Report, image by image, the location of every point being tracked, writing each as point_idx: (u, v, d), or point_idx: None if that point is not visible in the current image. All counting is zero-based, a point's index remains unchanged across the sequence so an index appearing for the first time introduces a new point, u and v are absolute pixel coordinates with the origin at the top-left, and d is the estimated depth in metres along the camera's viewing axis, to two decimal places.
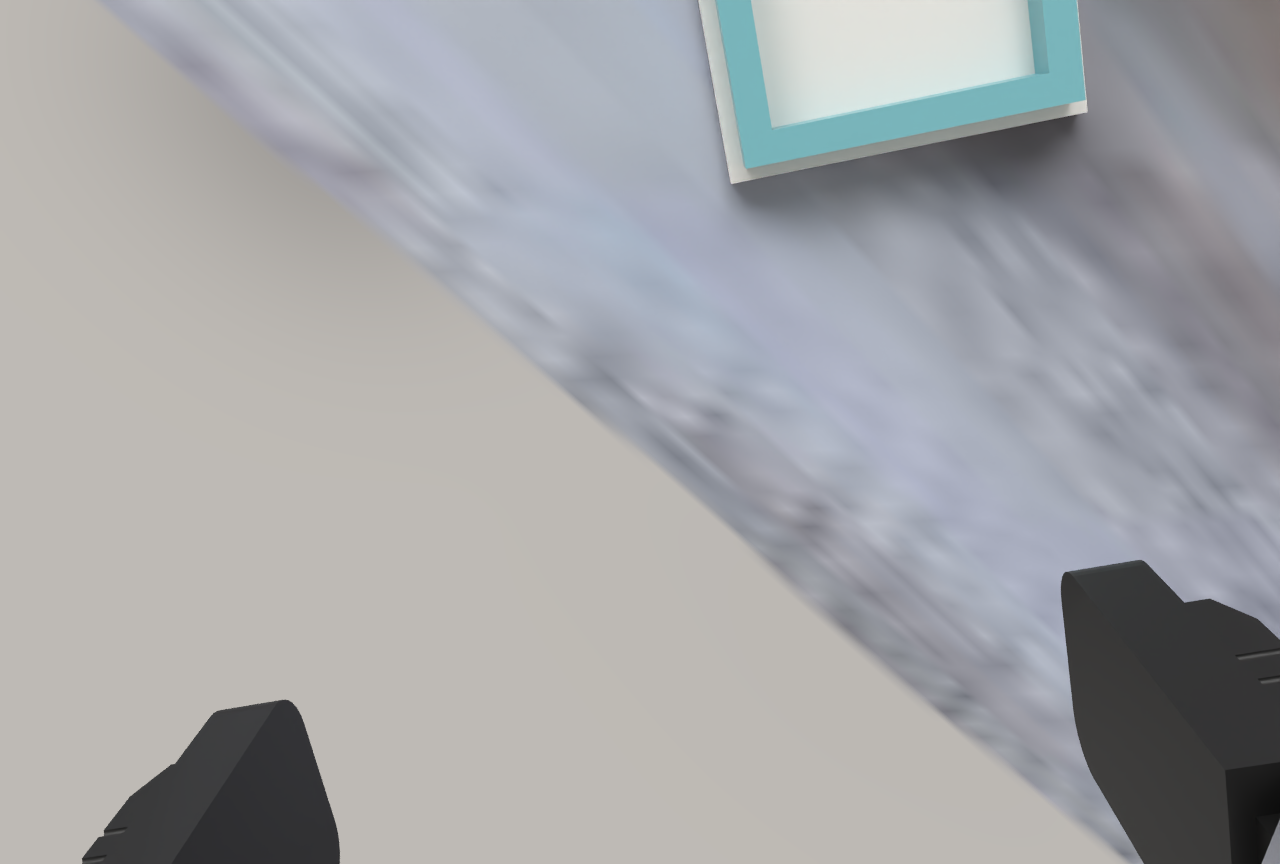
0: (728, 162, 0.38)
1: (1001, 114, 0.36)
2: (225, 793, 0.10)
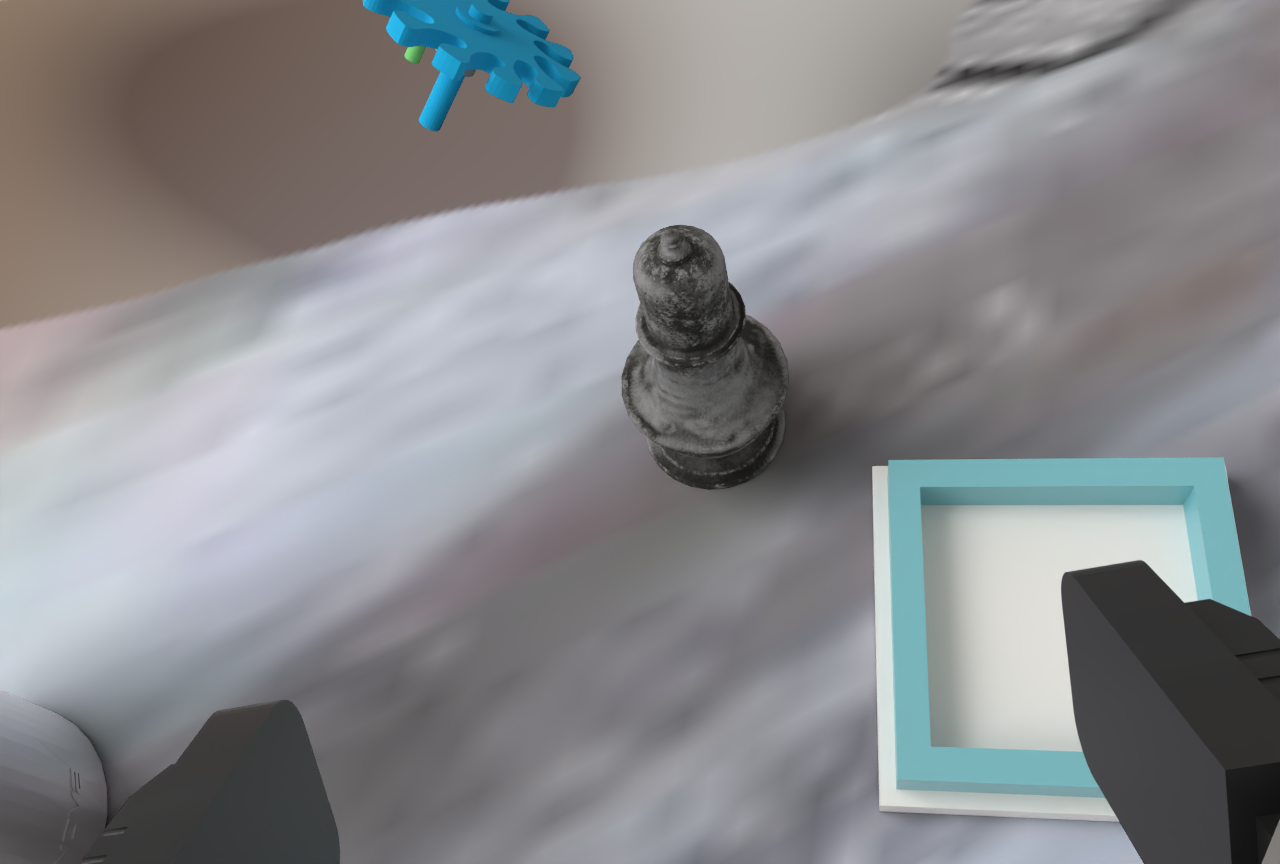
0: None
1: (1233, 530, 0.36)
2: (225, 793, 0.10)
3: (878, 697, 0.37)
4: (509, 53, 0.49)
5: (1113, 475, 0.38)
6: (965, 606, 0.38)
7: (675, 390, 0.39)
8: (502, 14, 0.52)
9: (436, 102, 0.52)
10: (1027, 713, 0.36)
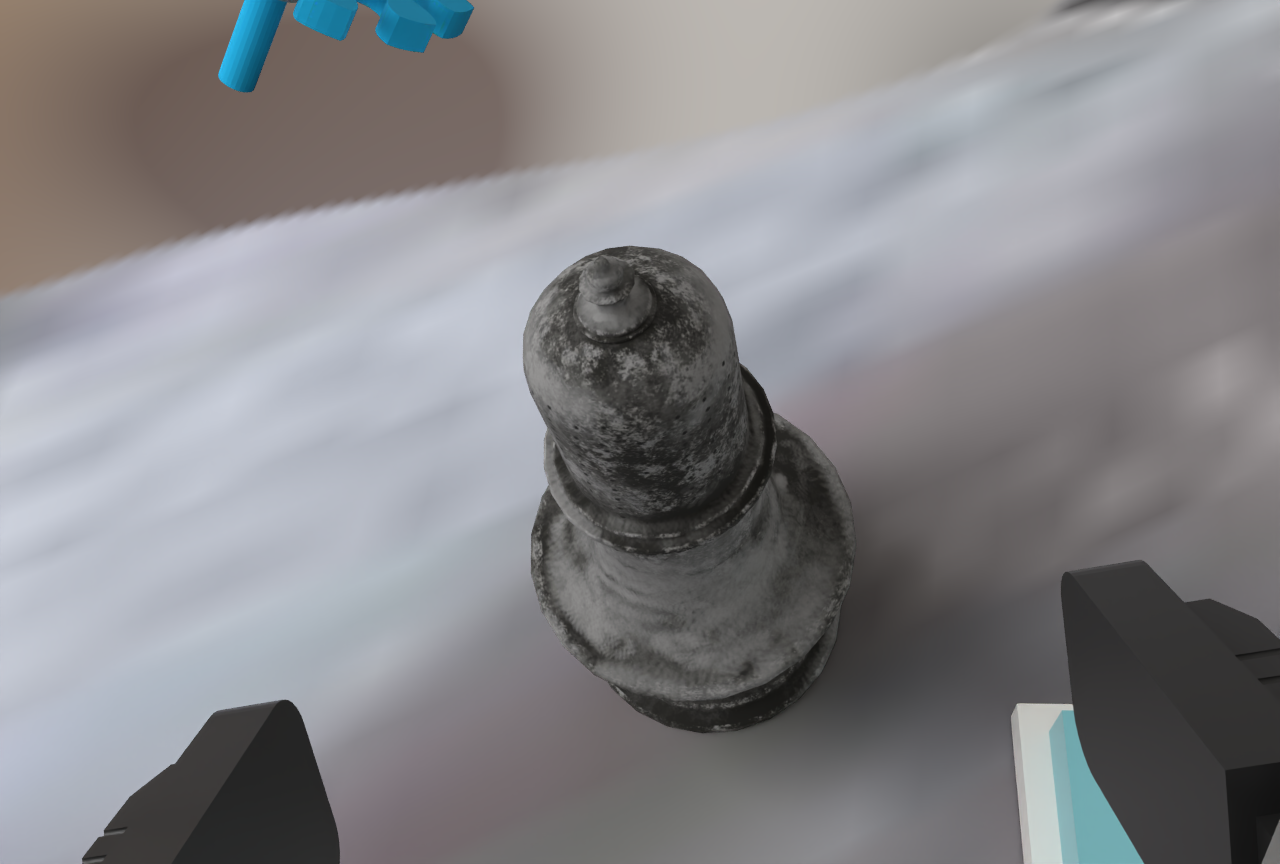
0: None
1: None
2: (225, 793, 0.10)
3: None
4: None
5: None
6: None
7: (631, 579, 0.19)
8: None
9: (241, 45, 0.32)
10: None
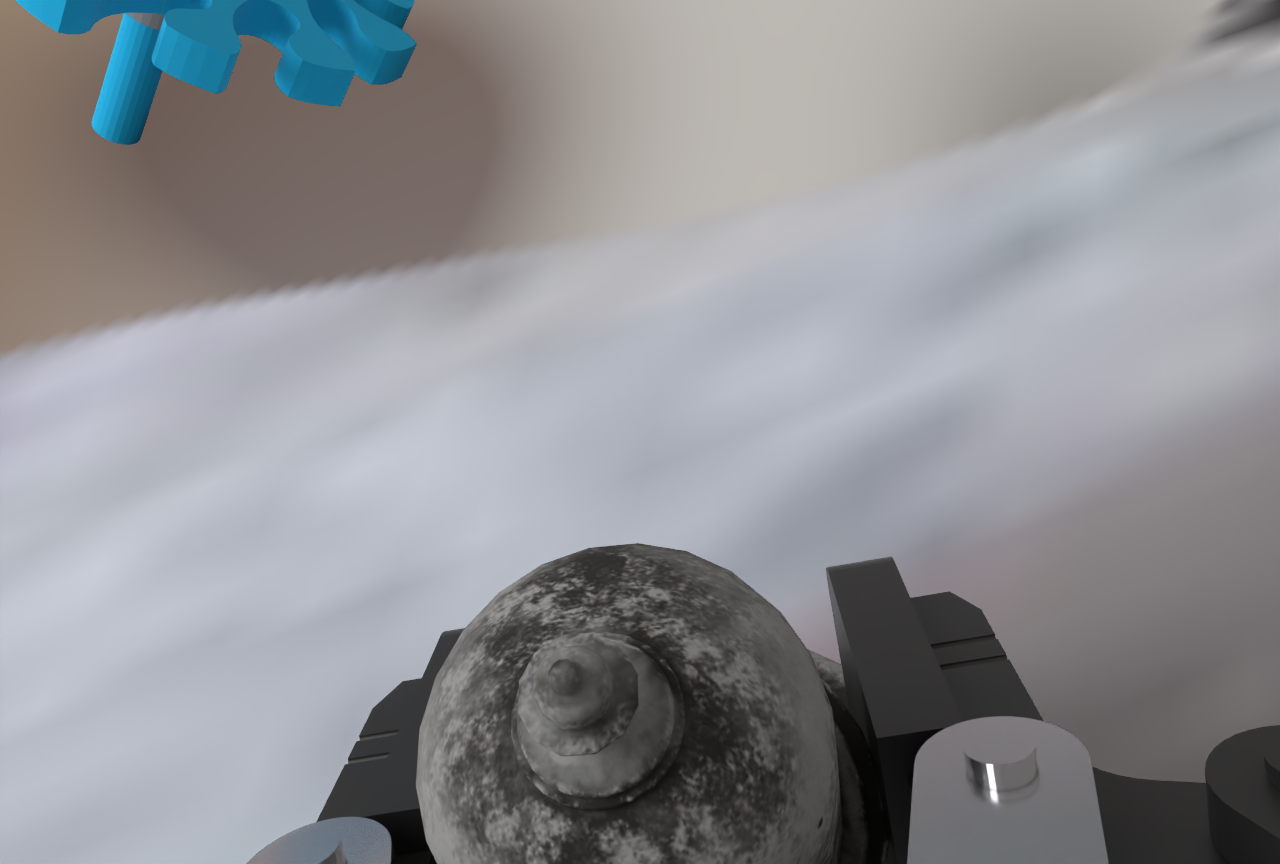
0: None
1: None
2: None
3: None
4: None
5: None
6: None
7: None
8: None
9: (115, 85, 0.25)
10: None
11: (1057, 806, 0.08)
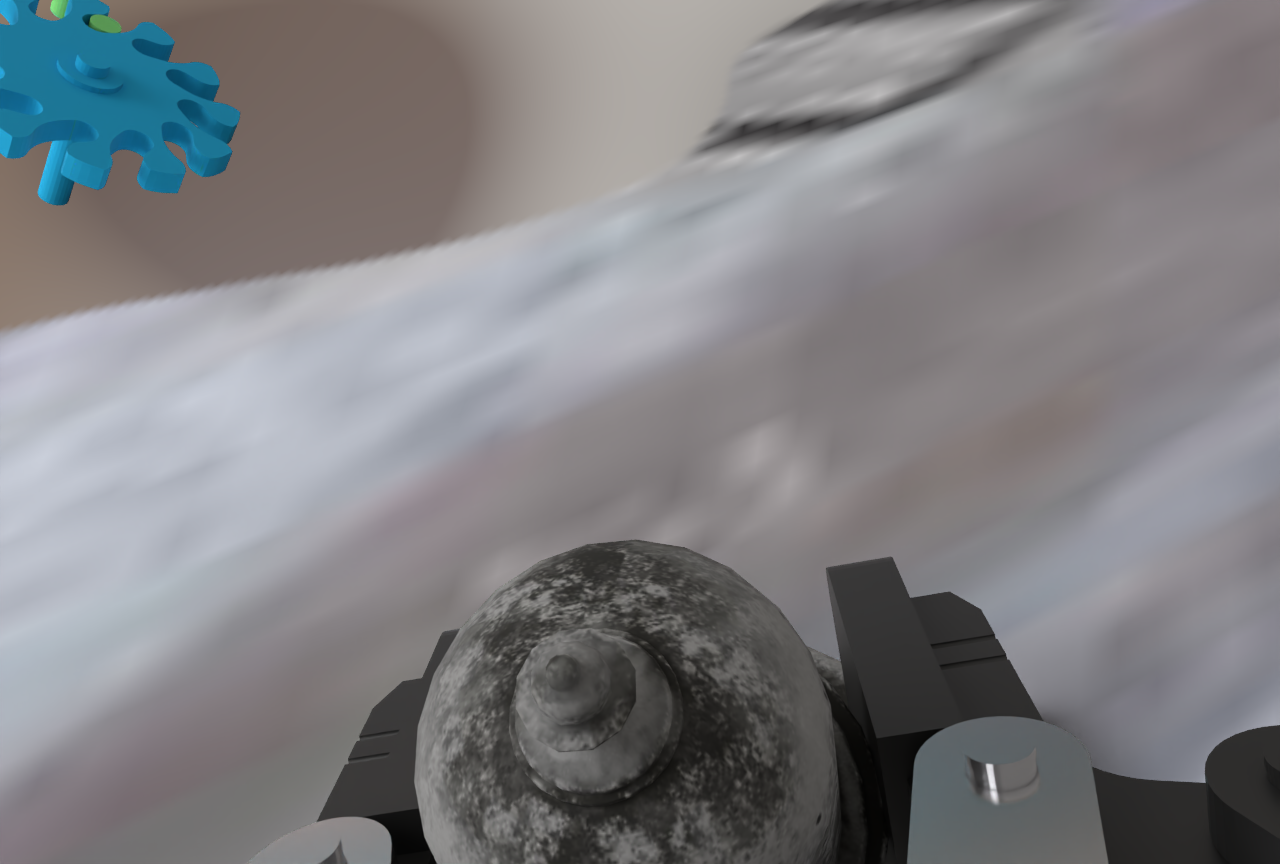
0: None
1: None
2: None
3: None
4: (118, 119, 0.38)
5: None
6: None
7: None
8: (147, 61, 0.41)
9: (51, 171, 0.41)
10: None
11: (1057, 806, 0.08)
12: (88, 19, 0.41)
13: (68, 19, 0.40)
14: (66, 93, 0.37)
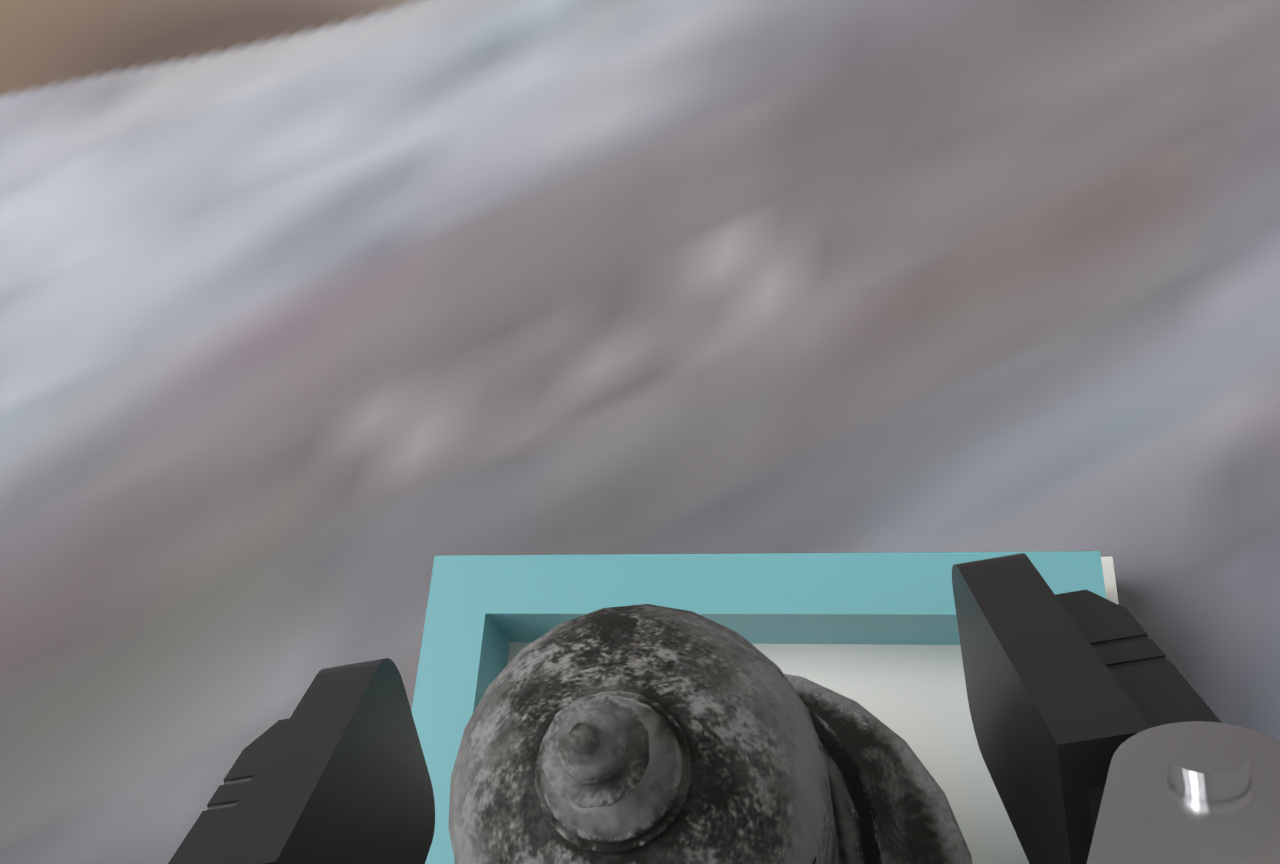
0: None
1: None
2: (344, 742, 0.11)
3: None
4: None
5: (871, 590, 0.18)
6: None
7: None
8: None
9: None
10: None
11: None
12: None
13: None
14: None
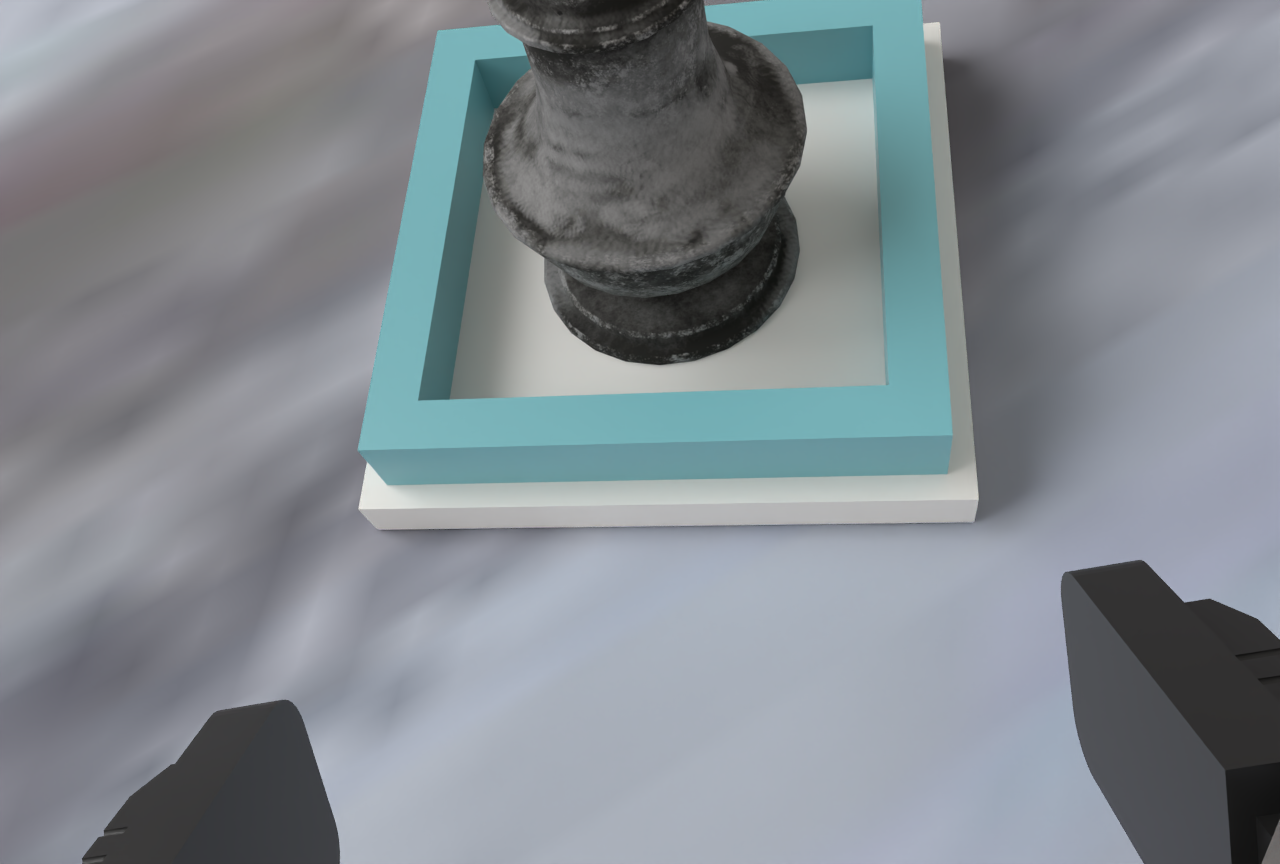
0: (937, 498, 0.21)
1: (922, 77, 0.23)
2: (225, 793, 0.10)
3: None
4: None
5: (755, 22, 0.24)
6: None
7: (577, 137, 0.19)
8: None
9: None
10: (601, 368, 0.23)
11: None
12: None
13: None
14: None
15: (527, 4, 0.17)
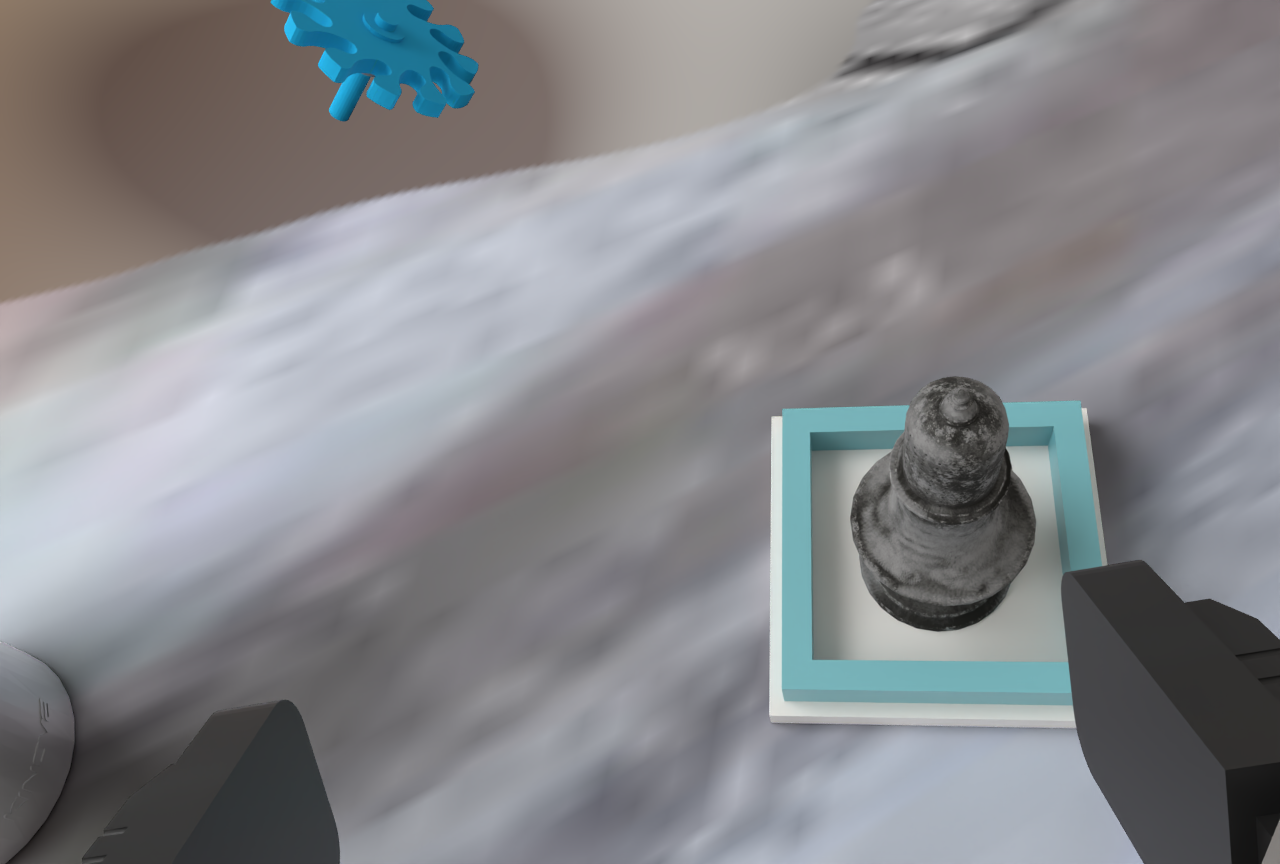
0: None
1: (1086, 465, 0.40)
2: (225, 793, 0.10)
3: (770, 621, 0.41)
4: (402, 62, 0.53)
5: None
6: (850, 539, 0.42)
7: (924, 540, 0.36)
8: (418, 22, 0.56)
9: (342, 95, 0.56)
10: (902, 632, 0.40)
11: None
12: None
13: None
14: (370, 40, 0.53)
15: (920, 497, 0.34)
